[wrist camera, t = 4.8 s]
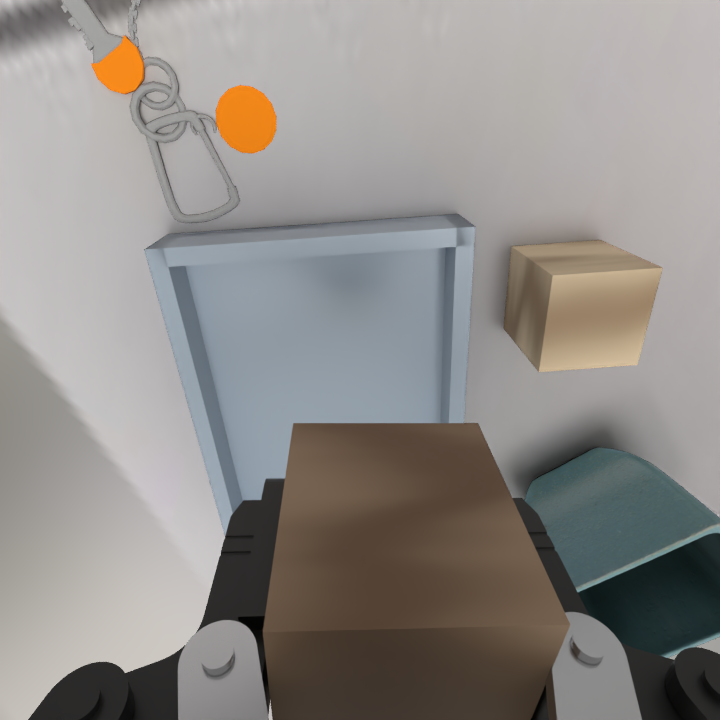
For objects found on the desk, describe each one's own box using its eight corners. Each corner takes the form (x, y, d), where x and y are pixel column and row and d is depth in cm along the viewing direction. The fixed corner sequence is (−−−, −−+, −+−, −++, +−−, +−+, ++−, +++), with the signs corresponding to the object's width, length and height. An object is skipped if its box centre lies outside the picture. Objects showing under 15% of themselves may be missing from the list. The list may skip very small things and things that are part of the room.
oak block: (584, 321, 25) (637, 364, 20) (503, 327, 25) (538, 372, 20) (599, 239, 23) (662, 267, 18) (511, 245, 23) (552, 275, 18)
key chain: (307, 192, 21) (306, 194, 21) (162, 233, 22) (156, 236, 21) (194, -187, 16) (187, -204, 15) (2, -119, 16) (-15, -131, 15)
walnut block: (477, 423, 11) (570, 624, 7) (453, 548, 13) (512, 764, 9) (293, 422, 11) (263, 631, 6) (299, 551, 13) (279, 774, 9)
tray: (447, 492, 30) (457, 528, 27) (237, 508, 30) (227, 545, 27) (458, 214, 22) (475, 226, 19) (168, 234, 22) (144, 249, 19)
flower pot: (617, 407, 28) (730, 522, 20) (662, 493, 31) (773, 620, 23) (490, 475, 30) (545, 603, 22) (545, 548, 33) (611, 681, 25)
